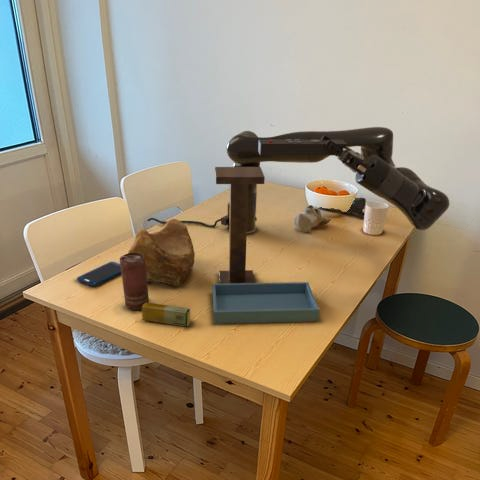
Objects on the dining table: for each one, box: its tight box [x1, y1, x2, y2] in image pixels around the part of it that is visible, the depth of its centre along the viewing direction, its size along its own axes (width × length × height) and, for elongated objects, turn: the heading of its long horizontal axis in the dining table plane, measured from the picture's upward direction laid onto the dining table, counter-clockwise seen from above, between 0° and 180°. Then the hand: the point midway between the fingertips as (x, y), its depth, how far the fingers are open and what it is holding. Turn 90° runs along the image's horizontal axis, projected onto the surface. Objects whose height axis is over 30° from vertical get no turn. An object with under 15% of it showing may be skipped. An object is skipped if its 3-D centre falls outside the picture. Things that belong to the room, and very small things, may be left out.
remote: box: [258, 139, 347, 156], centre depth 112 cm, size 20×4×3 cm, turn 95°
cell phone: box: [76, 261, 122, 288], centre depth 141 cm, size 7×14×1 cm, turn 146°
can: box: [119, 252, 150, 311], centre depth 124 cm, size 6×6×14 cm
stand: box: [214, 166, 266, 284], centre depth 130 cm, size 12×10×32 cm
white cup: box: [362, 200, 390, 236], centre depth 171 cm, size 8×8×10 cm
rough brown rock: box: [127, 218, 196, 287], centre depth 137 cm, size 23×17×15 cm
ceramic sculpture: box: [294, 204, 332, 233], centre depth 173 cm, size 11×9×15 cm
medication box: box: [141, 302, 191, 328], centre depth 120 cm, size 12×3×4 cm, turn 78°
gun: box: [344, 197, 367, 220], centre depth 188 cm, size 4×20×10 cm, turn 55°
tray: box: [211, 281, 320, 325], centre depth 127 cm, size 27×15×4 cm, turn 95°
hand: (324, 141), depth 111 cm, fingers closed on remote, 4 cm apart
